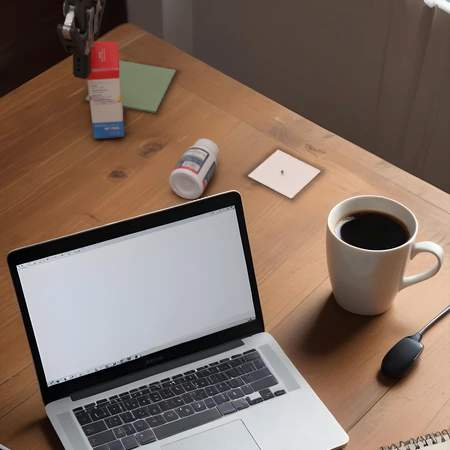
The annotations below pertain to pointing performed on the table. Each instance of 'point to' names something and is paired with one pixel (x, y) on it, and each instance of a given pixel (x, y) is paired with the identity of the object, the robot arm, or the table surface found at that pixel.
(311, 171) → the coaster
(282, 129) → the table surface
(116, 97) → the ink box
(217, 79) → the table surface
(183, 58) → the table surface
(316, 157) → the table surface
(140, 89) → the felt mat
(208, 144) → the pill bottle
